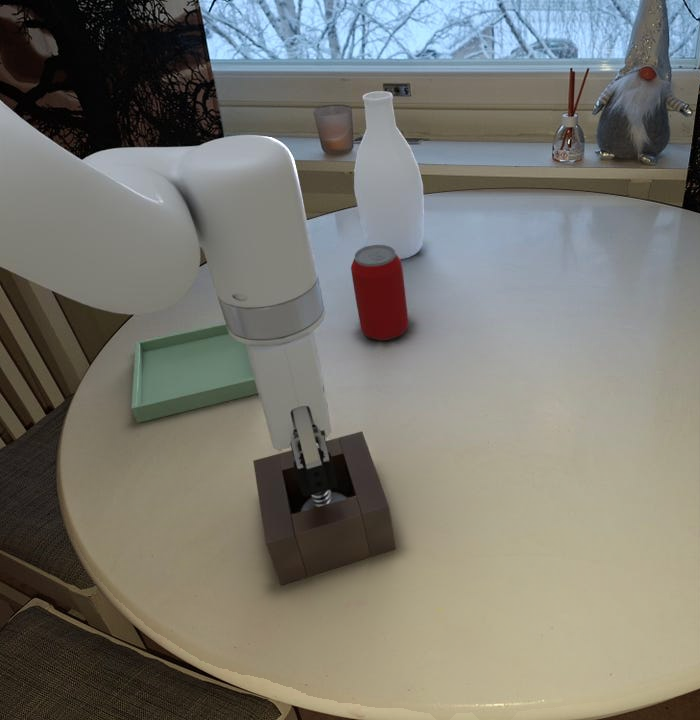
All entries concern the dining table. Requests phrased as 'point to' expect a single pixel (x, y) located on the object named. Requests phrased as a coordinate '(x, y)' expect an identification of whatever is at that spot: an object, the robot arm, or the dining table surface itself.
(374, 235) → the bottle
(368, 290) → the beverage can
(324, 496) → the screw
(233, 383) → the tray
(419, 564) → the dining table surface
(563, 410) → the dining table surface
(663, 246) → the dining table surface
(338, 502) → the holder
